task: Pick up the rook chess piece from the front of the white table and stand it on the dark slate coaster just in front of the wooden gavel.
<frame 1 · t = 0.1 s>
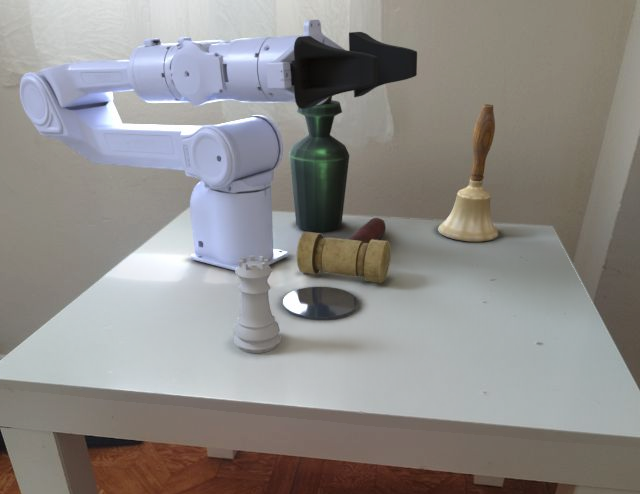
hand: (396, 67, 55), 22 cm above the table, tool horizontal, fingers open, 7 cm apart
gavel: (361, 255, 78), on the table
coaster: (320, 303, 65), on the table
rook chess piece: (257, 345, 58), on the table
potion bottle: (318, 226, 88), on the table
hand bell: (467, 234, 86), on the table
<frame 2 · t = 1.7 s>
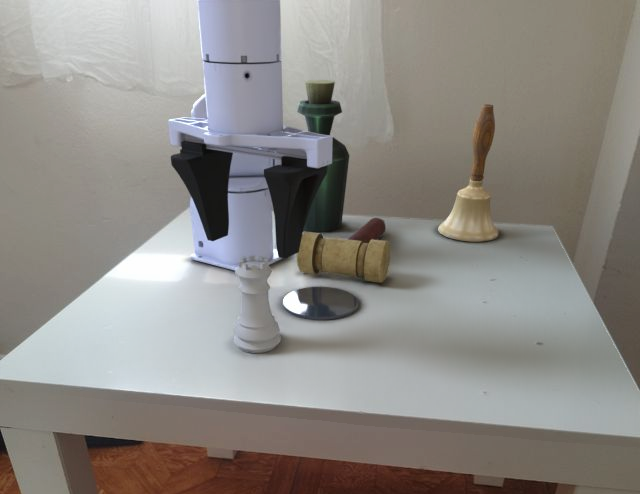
hand: (252, 246, 52), 9 cm above the table, tool pointing down, fingers open, 7 cm apart
nothing on the table moved.
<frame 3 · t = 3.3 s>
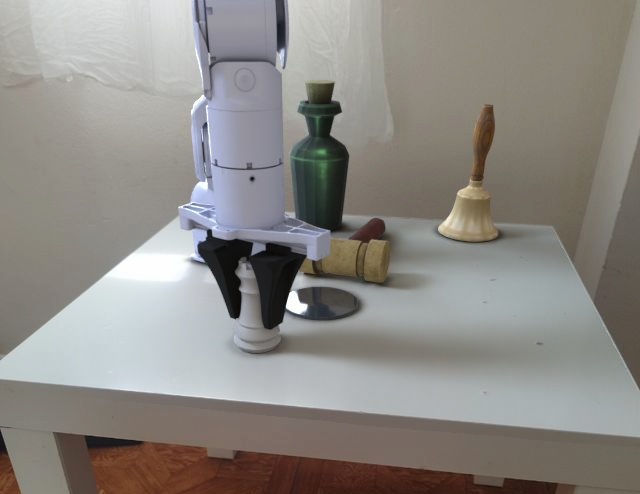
hand: (256, 319, 56), 2 cm above the table, tool pointing down, fingers closed on rook chess piece, 3 cm apart
rook chess piece: (257, 345, 58), on the table, touching gripper
everything else where it was.
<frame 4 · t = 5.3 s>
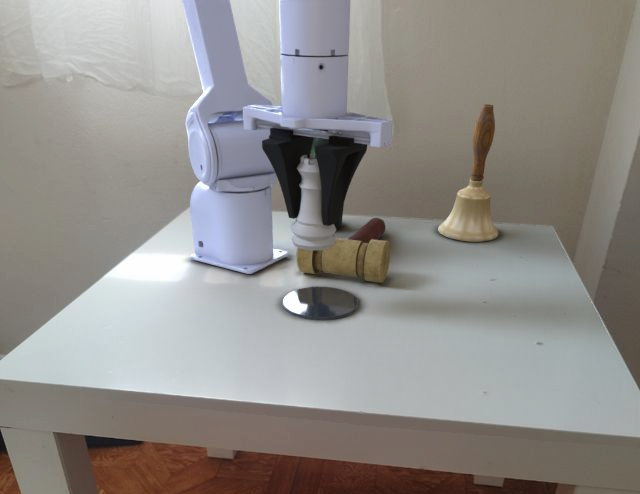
hand: (313, 219, 59), 9 cm above the table, tool pointing down, fingers closed on rook chess piece, 3 cm apart
rook chess piece: (313, 245, 61), point 7 cm above the table, touching gripper
everything else where it was.
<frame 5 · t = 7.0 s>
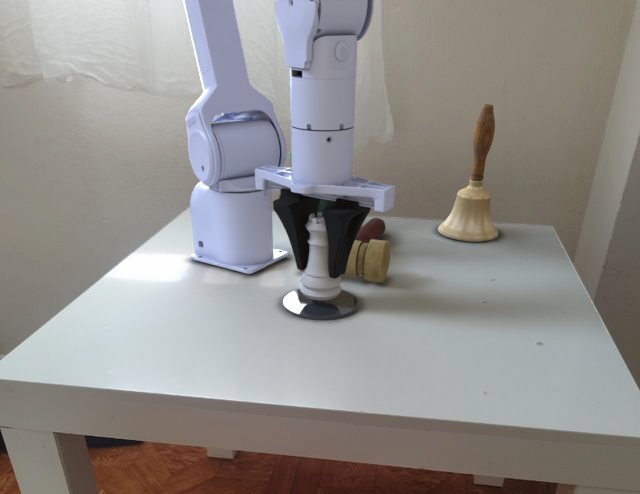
hand: (320, 271, 63), 4 cm above the table, tool pointing down, fingers closed on rook chess piece, 3 cm apart
rook chess piece: (320, 294, 65), point 1 cm above the table, touching gripper
everything else where it was.
when the fingers open (3 cm above the table, at t = 7.6 s): rook chess piece stays where it is, resting on coaster.
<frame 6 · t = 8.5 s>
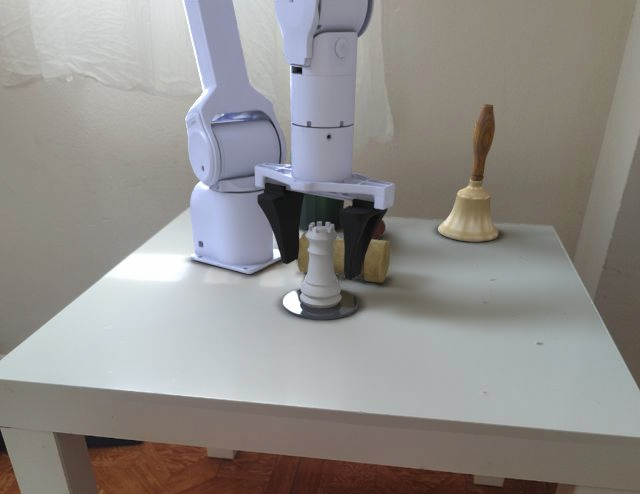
hand: (320, 268, 63), 4 cm above the table, tool pointing down, fingers open, 7 cm apart
rook chess piece: (320, 302, 65), resting on coaster
everything else where it was.
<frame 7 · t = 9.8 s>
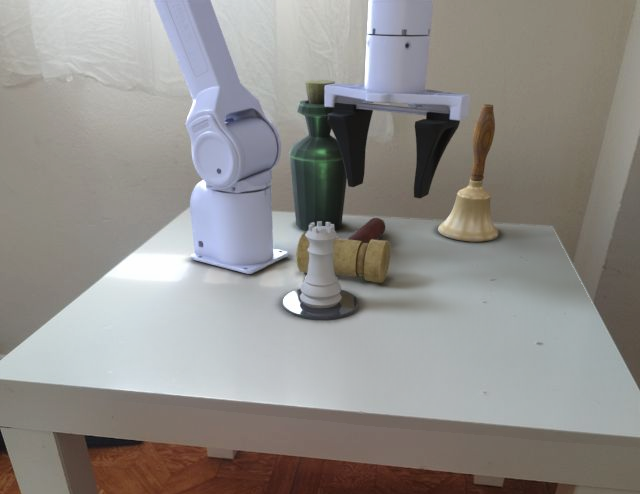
hand: (387, 190, 63), 10 cm above the table, tool pointing down, fingers open, 7 cm apart
nothing on the table moved.
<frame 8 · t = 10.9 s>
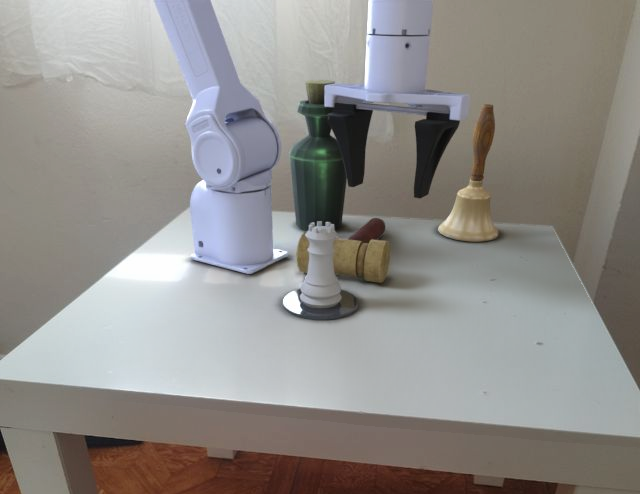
hand: (387, 190, 63), 10 cm above the table, tool pointing down, fingers open, 7 cm apart
nothing on the table moved.
at the end: rook chess piece inside the target area on the table beside the gavel (1.1 cm from its centre), resting on coaster; rook chess piece tilted 0°; gavel moved 0.2 cm from its start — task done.
